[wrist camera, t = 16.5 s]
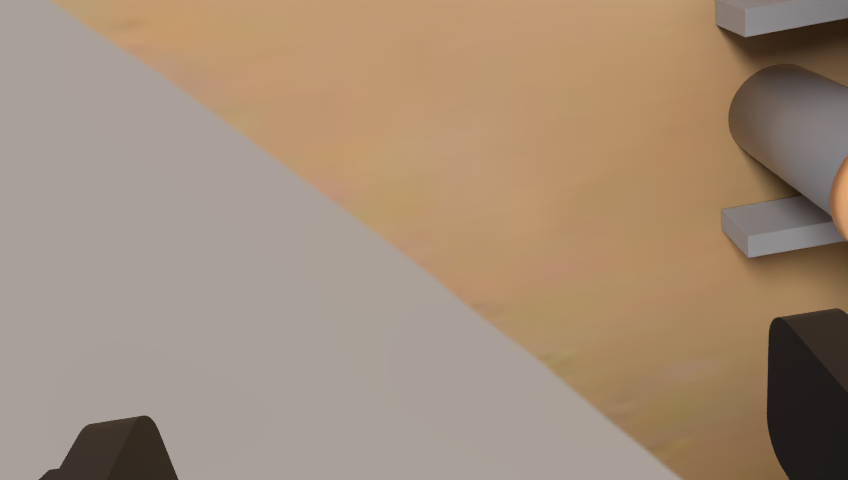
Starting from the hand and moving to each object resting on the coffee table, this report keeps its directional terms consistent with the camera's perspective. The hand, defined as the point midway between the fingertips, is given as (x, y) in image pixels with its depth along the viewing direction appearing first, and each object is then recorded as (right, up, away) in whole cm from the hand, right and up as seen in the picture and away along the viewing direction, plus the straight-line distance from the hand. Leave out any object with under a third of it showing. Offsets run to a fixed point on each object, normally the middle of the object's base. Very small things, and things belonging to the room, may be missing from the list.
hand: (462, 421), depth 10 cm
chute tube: (+17, +9, +29) cm, 35 cm away
